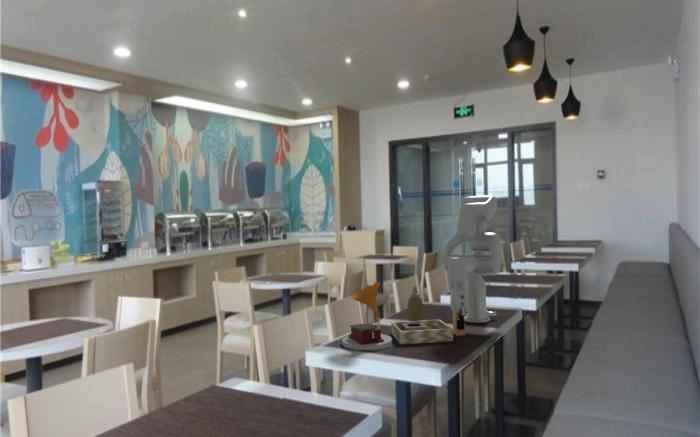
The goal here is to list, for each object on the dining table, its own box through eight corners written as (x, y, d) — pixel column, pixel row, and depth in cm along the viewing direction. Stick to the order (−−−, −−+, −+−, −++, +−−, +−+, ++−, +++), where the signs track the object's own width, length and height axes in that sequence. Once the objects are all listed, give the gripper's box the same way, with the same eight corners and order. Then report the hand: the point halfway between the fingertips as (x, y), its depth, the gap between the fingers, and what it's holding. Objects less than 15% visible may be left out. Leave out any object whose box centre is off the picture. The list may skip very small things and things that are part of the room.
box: (440, 330, 217) (439, 319, 217) (453, 341, 199) (452, 328, 199) (391, 333, 214) (391, 322, 214) (400, 344, 197) (400, 331, 196)
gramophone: (379, 335, 212) (377, 278, 212) (401, 346, 193) (399, 284, 193) (335, 341, 205) (333, 281, 205) (353, 353, 186) (351, 288, 186)
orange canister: (462, 332, 212) (461, 307, 212) (465, 335, 208) (464, 309, 208) (453, 333, 211) (452, 308, 211) (456, 335, 207) (455, 309, 207)
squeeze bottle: (424, 321, 236) (422, 284, 235) (424, 325, 228) (423, 287, 227) (407, 321, 236) (406, 284, 236) (407, 325, 228) (406, 287, 228)
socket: (421, 332, 211) (421, 322, 211) (427, 337, 202) (427, 326, 202) (401, 333, 210) (401, 323, 210) (406, 338, 201) (406, 328, 201)
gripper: (473, 288, 202) (474, 332, 202) (459, 282, 218) (460, 323, 218) (455, 289, 201) (457, 333, 201) (443, 283, 217) (444, 324, 218)
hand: (459, 327), depth 210 cm, fingers closed on orange canister, 4 cm apart
